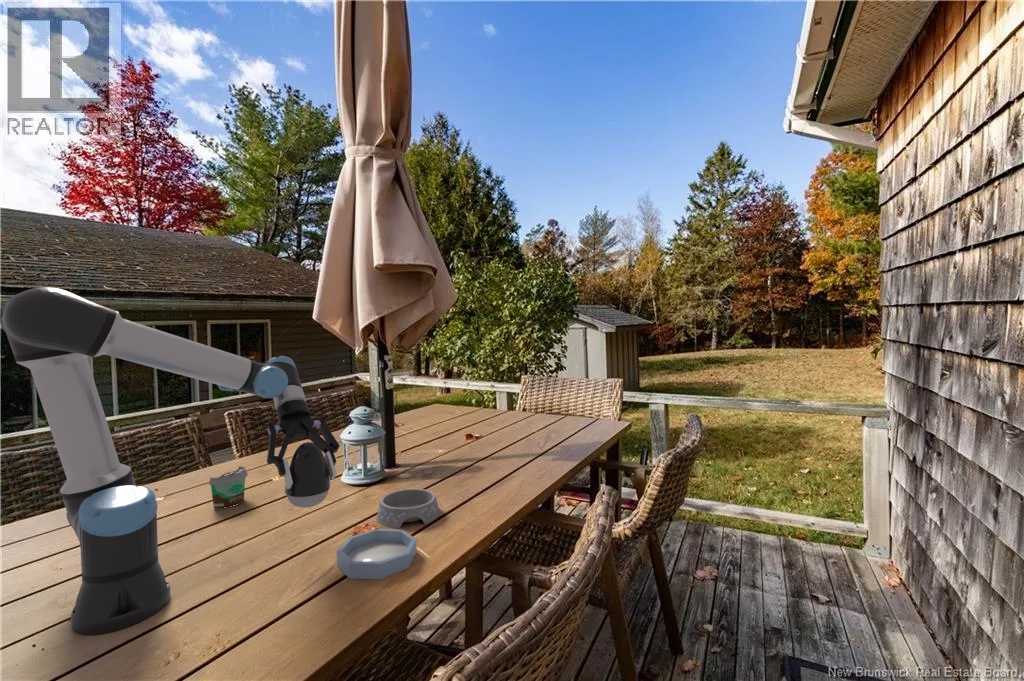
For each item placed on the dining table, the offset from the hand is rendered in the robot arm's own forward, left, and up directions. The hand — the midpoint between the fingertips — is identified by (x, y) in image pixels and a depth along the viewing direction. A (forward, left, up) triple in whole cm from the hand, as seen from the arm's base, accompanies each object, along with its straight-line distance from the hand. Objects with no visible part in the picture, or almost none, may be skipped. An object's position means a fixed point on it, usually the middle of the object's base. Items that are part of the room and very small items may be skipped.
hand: (312, 481), depth 112 cm
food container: (+31, +41, -19) cm, 55 cm away
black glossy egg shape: (+2, +2, -7) cm, 7 cm away
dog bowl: (+26, -16, -19) cm, 36 cm away
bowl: (0, -16, -19) cm, 25 cm away
